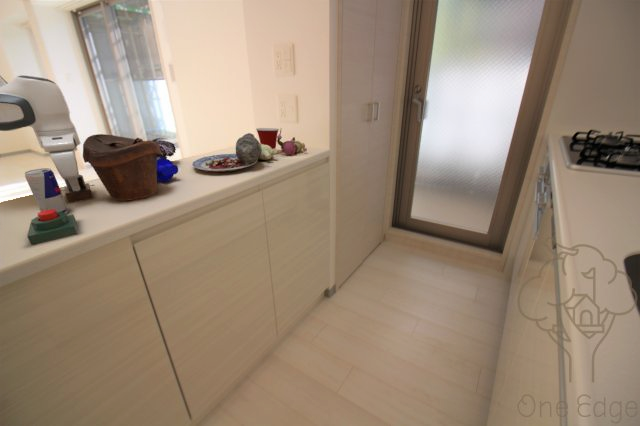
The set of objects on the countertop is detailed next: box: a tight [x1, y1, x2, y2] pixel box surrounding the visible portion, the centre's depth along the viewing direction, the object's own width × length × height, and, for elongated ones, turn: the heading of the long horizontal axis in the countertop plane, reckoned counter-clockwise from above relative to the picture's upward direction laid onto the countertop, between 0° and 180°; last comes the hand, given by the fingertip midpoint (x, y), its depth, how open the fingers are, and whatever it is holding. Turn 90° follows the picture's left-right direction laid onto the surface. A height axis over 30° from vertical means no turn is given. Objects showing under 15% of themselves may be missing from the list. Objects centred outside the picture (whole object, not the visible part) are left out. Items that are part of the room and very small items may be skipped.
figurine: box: [277, 129, 308, 157], centre depth 138 cm, size 11×13×15 cm
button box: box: [26, 212, 78, 246], centre depth 67 cm, size 8×8×4 cm
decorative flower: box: [151, 137, 177, 159], centre depth 120 cm, size 15×12×15 cm
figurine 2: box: [276, 136, 296, 152], centre depth 145 cm, size 8×8×6 cm
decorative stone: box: [235, 132, 262, 163], centre depth 118 cm, size 22×10×10 cm
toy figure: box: [157, 158, 179, 183], centre depth 103 cm, size 9×10×15 cm
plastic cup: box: [255, 127, 280, 149], centre depth 138 cm, size 11×11×12 cm
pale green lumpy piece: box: [257, 144, 278, 161], centre depth 129 cm, size 13×7×15 cm
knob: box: [64, 174, 87, 190], centre depth 87 cm, size 4×4×4 cm
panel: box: [60, 183, 95, 204], centre depth 88 cm, size 9×9×3 cm
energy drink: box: [24, 167, 69, 214], centre depth 75 cm, size 5×5×12 cm
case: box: [82, 133, 164, 201], centre depth 87 cm, size 18×20×18 cm
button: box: [37, 209, 58, 221], centre depth 66 cm, size 3×3×2 cm
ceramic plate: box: [191, 153, 258, 173], centre depth 119 cm, size 26×26×3 cm
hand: (76, 186), depth 87 cm, fingers open, 8 cm apart
